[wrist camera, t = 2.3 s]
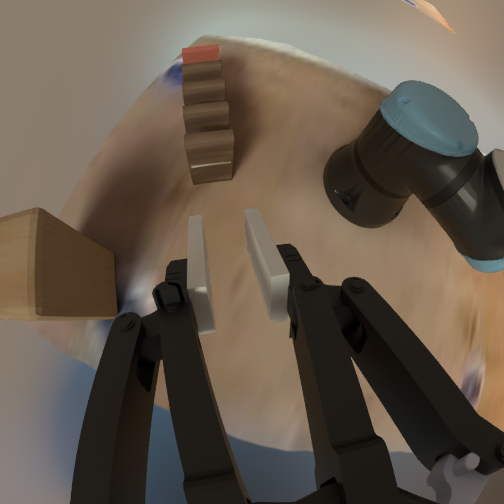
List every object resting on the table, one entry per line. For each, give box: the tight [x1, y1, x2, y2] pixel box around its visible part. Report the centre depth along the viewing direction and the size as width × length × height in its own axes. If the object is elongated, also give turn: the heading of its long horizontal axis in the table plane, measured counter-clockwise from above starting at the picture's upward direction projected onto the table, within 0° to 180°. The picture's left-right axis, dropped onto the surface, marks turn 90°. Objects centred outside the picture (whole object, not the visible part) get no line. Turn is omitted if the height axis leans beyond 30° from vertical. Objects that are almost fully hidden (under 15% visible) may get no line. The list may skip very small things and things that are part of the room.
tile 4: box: [182, 60, 222, 83], centre depth 39 cm, size 2×6×11 cm, turn 100°
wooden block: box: [0, 208, 118, 321], centre depth 26 cm, size 10×10×20 cm
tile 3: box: [182, 79, 225, 106], centre depth 38 cm, size 2×6×11 cm, turn 100°
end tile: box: [182, 45, 219, 64], centre depth 40 cm, size 2×6×11 cm, turn 100°
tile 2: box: [183, 101, 229, 134], centre depth 37 cm, size 2×6×11 cm, turn 100°
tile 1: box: [184, 129, 234, 185], centre depth 36 cm, size 2×6×11 cm, turn 100°
